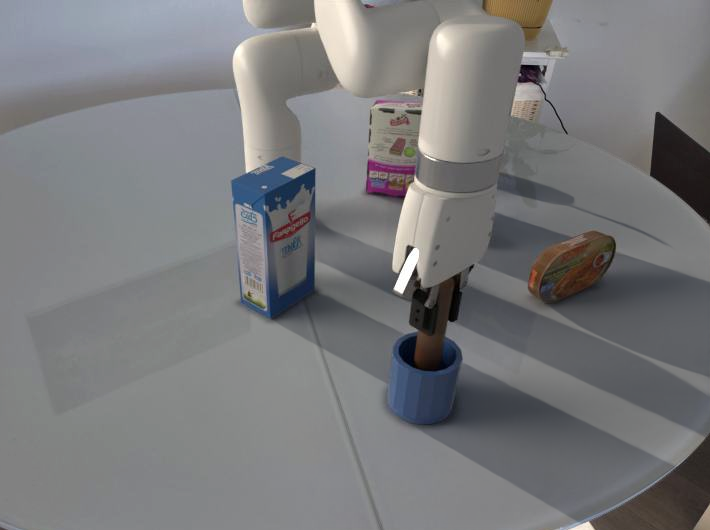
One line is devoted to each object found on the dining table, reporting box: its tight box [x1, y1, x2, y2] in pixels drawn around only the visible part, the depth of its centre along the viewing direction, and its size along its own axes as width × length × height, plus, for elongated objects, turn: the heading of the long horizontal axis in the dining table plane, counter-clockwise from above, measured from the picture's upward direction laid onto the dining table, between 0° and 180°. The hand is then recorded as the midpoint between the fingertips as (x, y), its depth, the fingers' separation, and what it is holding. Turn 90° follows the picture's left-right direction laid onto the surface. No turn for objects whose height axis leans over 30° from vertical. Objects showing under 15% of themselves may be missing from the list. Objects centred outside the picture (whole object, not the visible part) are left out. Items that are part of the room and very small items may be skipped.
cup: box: [386, 331, 464, 425], centre depth 76 cm, size 8×8×8 cm
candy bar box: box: [365, 99, 423, 198], centre depth 117 cm, size 11×5×16 cm, turn 68°
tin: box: [527, 230, 617, 304], centre depth 92 cm, size 15×3×8 cm, turn 117°
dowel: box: [413, 277, 454, 372], centre depth 71 cm, size 3×3×12 cm
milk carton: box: [230, 157, 317, 320], centre depth 91 cm, size 10×6×20 cm, turn 134°
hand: (432, 321), depth 71 cm, fingers closed on dowel, 3 cm apart
